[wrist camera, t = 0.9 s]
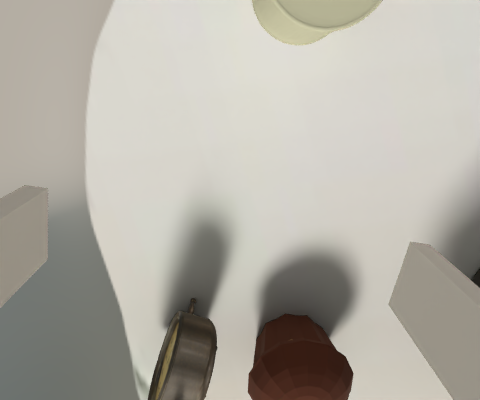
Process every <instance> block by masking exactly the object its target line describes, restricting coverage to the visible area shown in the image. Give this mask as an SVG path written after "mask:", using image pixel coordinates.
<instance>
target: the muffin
mask: <svg viewBox="0 0 480 400" xmlns="http://www.w3.org/2000/svg"><path fill="white" fill-rule="evenodd" d="M352 379H353V371H352V369H351V367H350V365H349V363H348V361H347V359H346V357H345V356H344V355H343V354H341V353H340V352H338V351H337V350H336V348H335V347H334V345H333V344H332V342H331V341H330V339H329V337H328V336H327V334H326V333H325V331H324V330H323V328H322V327H320V326H319V325H317V324H316V323H314V322H313V321H312V320H311V319H310V318H309V317H308V316H298V315H290V314H284V315H282V316H281V317H279V318H277V319H275V320H273V321H270V322H267V323H266V324H265V326H264V328H263V331H262V333H261V334H260V335H259V337H258V338H257V340H256V347H255V355H254V364H253V368H252V370H251V371H250V373H249V381H248V393H249V395H250V396H251V398H252V400H347V399H348V397H349V393H350V392H351V386H352Z"/></svg>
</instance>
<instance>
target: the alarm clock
mask: <svg viewBox="0 0 480 400" xmlns="http://www.w3.org/2000/svg"><path fill="white" fill-rule="evenodd" d="M195 303H196V299H195V298H192V299H191V304H190V306H189V309H188V313H186V312H183V311H179V312H177V313H176V314H175V316H174V318H173V320H172V321H171V324H170V326H169V328H168V331H167V334H166V336H165V339H164V342H163V345H162V348H161V351H160V354H159V357H158V361H157V364H156V367H155V370H154V374H153V378H152V382H151V386H150V391H149V396H148V400H204V398H205V397H206V393H207V390H208V387H209V383H210V380H211V376H212V372H213V367H214V362H215V355H216V351H217V336H216V329H215V326H214V324H213V323H212V321H211V320H210V319H207V318H204V317H200V316H197V315H193V313H194V304H195Z"/></svg>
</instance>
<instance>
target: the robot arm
mask: <svg viewBox="0 0 480 400" xmlns="http://www.w3.org/2000/svg"><path fill="white" fill-rule="evenodd" d="M47 259H48V188H41V187H34V186H27V185H24V186H22V187H21V188H19V189H17V190H15V191H14V192H12V193H10V194H8V195H6V196H5V197H3V198H1V199H0V308H1V307H2V306H3V305H4V303H5V302H6V301H7V300H8V299H9V298H10V297H11V296H12V295H13V294H14V293H15V292H16V291H17V290H18V289H19V288H20V287H21V286H22V285H23V284H24V283H25V282H26V281H27V280H28V279H29V278H30V277H31V276H32V275H33V274H34V273H35V272H36V271H37V270H38V269H39V268H40V267H41V266H42V265H43V264H44V263H45V261H46V260H47ZM389 306H390V307H391V309H392V310H393V312H394V313H395V315H396V316H397V318H398V319H399V321H400V322H401V324H402V325H403V327H404V328H405V329H406V331H407V332H408V334H409V335H410V337H411V338H412V340H413V341H414V343H415V344H416V346H417V347H418V349H419V350H420V351H421V353H422V354H423V356H424V357H425V359H426V360H427V362H428V363H429V365H430V366H431V368H432V369H433V371H434V372H435V373H436V375H437V376H438V378H439V379H440V381H441V382H442V384H443V385H444V387H445V388H446V390H447V391H448V393H449V394H450V395H451V397H452V398H453V400H480V269H479V271H478V272H477V273H476V275H475V276H474V278H473V280H472V281H471V280H470V279H469V278H468V277H466V276H465V275H464V274H463V273H462V272H461V271H460V270H458V269H457V268H456V267H455V266H454V265H453V264H451V263H450V262H449V261H448V260H447V259H446V258H444V257H443V256H442V255H441V254H440V253H439V252H438V251H436V250H435V249H434V248H433V247H432V246H431V245H428V244H421V243H414V242H410V244H409V247H408V250H407V253H406V256H405V258H404V261H403V264H402V267H401V270H400V273H399V276H398V279H397V282H396V285H395V287H394V290H393V293H392V296H391V299H390V302H389Z"/></svg>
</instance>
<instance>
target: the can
mask: <svg viewBox="0 0 480 400" xmlns="http://www.w3.org/2000/svg"><path fill="white" fill-rule="evenodd" d="M382 1H383V0H252V3H253V8H254V11H255V14H256V16H257V19H258V20H259V22H260V24H261V25H262V27H263V28H264V29H265V30H266V31H267V32H268V33H269V34H270V35H271V36H272V37H274V38H275V39H277V40H279V41H281V42H283V43H286V44H291V45H306V44H310V43H314V42H316V41H318V40H320V39H322V38H324V37H325V36H327V35H328V34H329V33H332V32H334V31H338V30H342V29H345V28H348V27H351V26H353V25H355V24H357V23H358V22H360V21H362V20H363V19H365V18H366V17H367V16H368V15H370V14H371V13H372V12H373V11H374V10H375V9H376V8H377V7H378V6H379V4H380V3H381V2H382Z"/></svg>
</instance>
